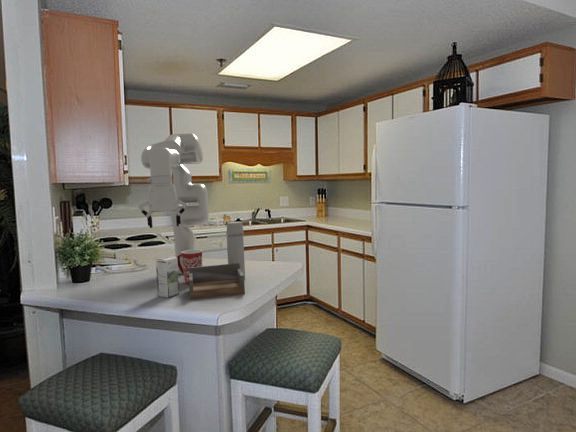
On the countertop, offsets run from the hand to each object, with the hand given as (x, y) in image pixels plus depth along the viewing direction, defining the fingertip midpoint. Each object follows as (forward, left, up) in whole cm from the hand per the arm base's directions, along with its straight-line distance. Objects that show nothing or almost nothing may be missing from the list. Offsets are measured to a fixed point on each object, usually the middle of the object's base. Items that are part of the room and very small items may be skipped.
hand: (164, 226), depth 148 cm
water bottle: (-14, +28, -26) cm, 41 cm away
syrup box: (0, 0, -26) cm, 27 cm away
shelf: (+2, +18, -26) cm, 32 cm away
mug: (-18, +8, -26) cm, 33 cm away
